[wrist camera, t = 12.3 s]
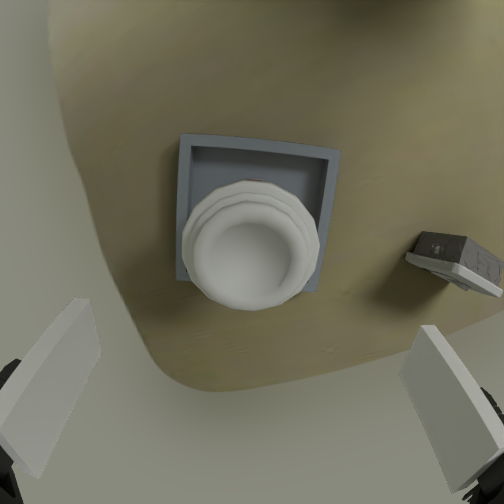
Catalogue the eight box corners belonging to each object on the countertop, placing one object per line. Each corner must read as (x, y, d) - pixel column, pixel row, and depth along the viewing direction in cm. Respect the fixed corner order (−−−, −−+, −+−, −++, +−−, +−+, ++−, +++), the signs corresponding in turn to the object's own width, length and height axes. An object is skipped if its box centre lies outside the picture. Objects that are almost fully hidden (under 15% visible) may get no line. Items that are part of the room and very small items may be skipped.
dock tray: (186, 133, 27) (180, 133, 25) (334, 148, 28) (341, 150, 25) (180, 269, 32) (175, 280, 30) (311, 280, 33) (316, 292, 31)
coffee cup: (311, 181, 28) (348, 214, 17) (280, 265, 32) (294, 338, 21) (217, 151, 27) (194, 166, 16) (193, 241, 31) (162, 304, 20)
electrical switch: (400, 257, 32) (446, 289, 23) (419, 216, 31) (470, 237, 22) (450, 281, 33) (495, 313, 25) (467, 245, 32) (516, 270, 23)
